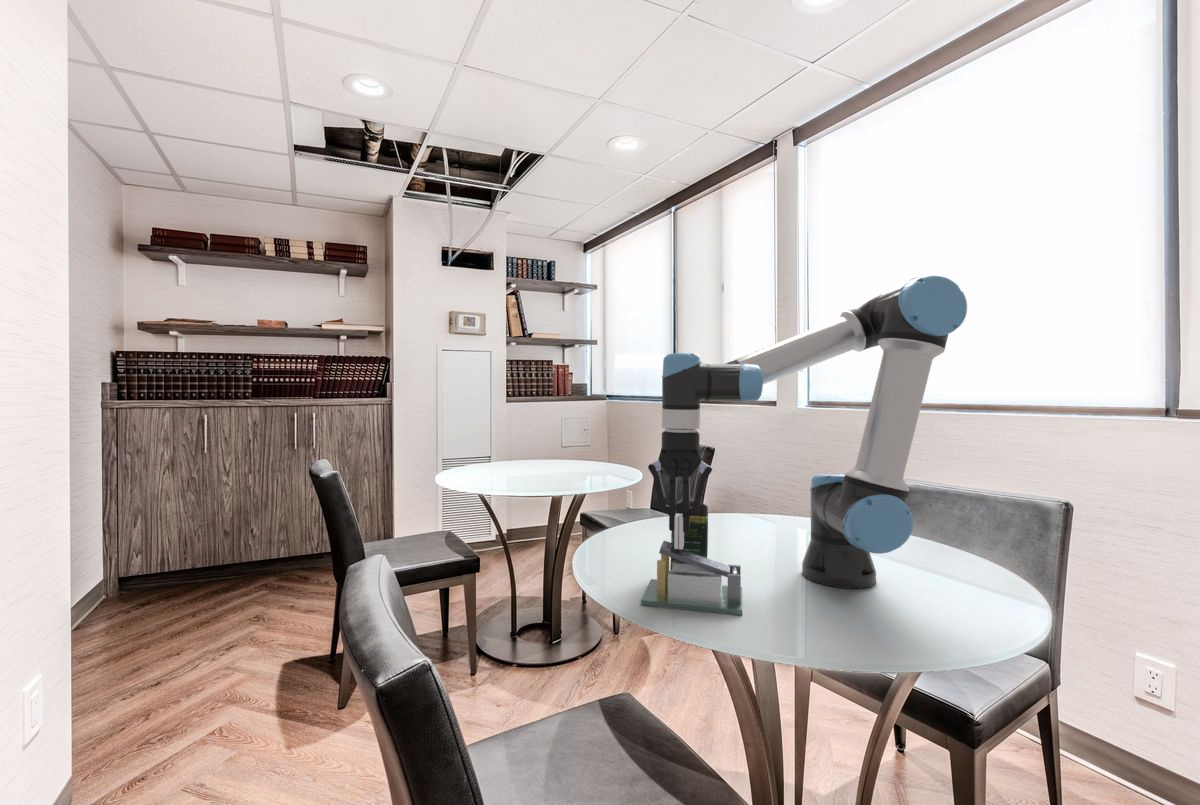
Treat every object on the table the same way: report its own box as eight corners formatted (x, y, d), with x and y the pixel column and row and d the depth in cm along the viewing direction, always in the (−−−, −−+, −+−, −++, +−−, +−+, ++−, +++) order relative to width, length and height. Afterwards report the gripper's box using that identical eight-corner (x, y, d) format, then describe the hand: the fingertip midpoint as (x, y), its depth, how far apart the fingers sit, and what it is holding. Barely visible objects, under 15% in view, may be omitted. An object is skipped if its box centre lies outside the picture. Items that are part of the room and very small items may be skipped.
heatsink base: (741, 592, 110) (741, 553, 110) (742, 615, 99) (742, 572, 99) (650, 583, 115) (650, 547, 115) (641, 605, 103) (641, 564, 103)
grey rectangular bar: (728, 571, 107) (730, 563, 107) (728, 577, 103) (730, 569, 103) (661, 547, 110) (663, 540, 110) (659, 553, 106) (661, 545, 106)
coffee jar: (709, 591, 110) (710, 500, 113) (671, 588, 111) (673, 498, 114) (704, 582, 120) (705, 498, 123) (668, 580, 121) (670, 497, 123)
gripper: (714, 430, 109) (713, 544, 109) (651, 428, 112) (649, 539, 113) (713, 432, 102) (711, 555, 102) (644, 430, 105) (643, 549, 105)
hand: (679, 547), depth 107 cm, fingers closed
